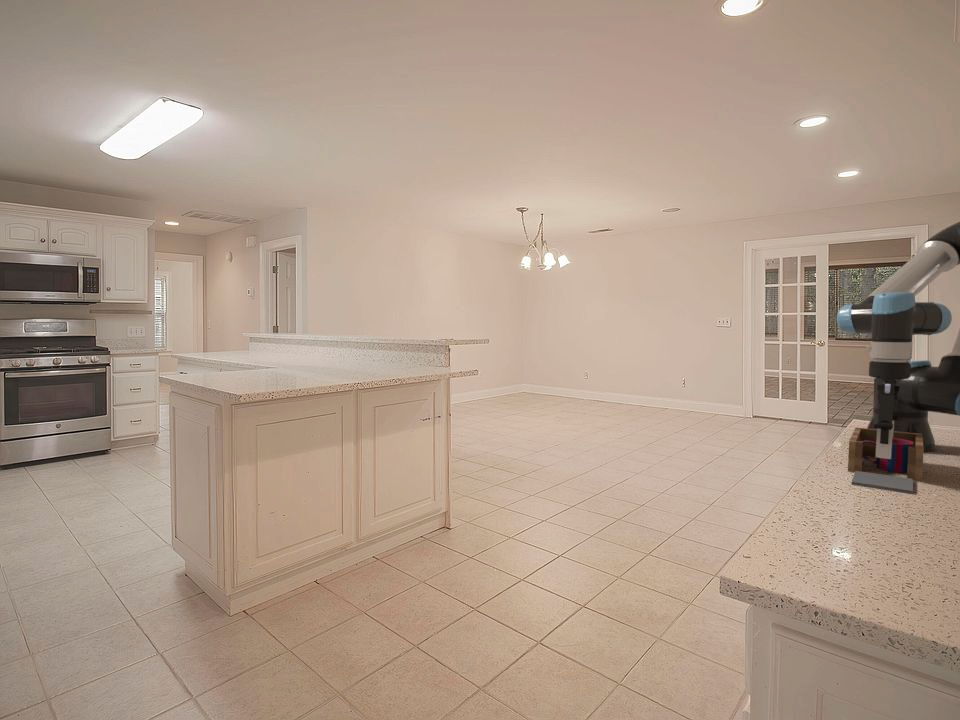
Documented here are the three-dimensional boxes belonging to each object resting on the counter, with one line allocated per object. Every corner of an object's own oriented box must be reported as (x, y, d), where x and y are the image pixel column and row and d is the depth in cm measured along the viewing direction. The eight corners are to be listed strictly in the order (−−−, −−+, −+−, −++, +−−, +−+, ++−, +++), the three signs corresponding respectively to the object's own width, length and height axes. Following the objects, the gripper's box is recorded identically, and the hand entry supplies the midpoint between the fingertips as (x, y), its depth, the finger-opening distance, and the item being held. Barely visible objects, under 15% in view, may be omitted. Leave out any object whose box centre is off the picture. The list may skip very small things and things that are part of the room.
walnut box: (854, 454, 134) (855, 427, 134) (920, 462, 126) (922, 433, 125) (847, 471, 120) (849, 441, 119) (922, 481, 112) (923, 449, 111)
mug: (913, 476, 116) (914, 445, 115) (857, 468, 122) (859, 439, 121) (912, 469, 121) (913, 440, 121) (858, 462, 127) (860, 434, 127)
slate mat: (855, 473, 118) (855, 470, 118) (912, 481, 112) (912, 478, 112) (851, 484, 110) (851, 481, 110) (912, 493, 104) (913, 491, 104)
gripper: (872, 357, 132) (867, 440, 133) (866, 362, 112) (860, 460, 114) (911, 358, 127) (905, 445, 128) (911, 364, 108) (904, 466, 109)
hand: (884, 452), depth 121 cm, fingers open, 13 cm apart
